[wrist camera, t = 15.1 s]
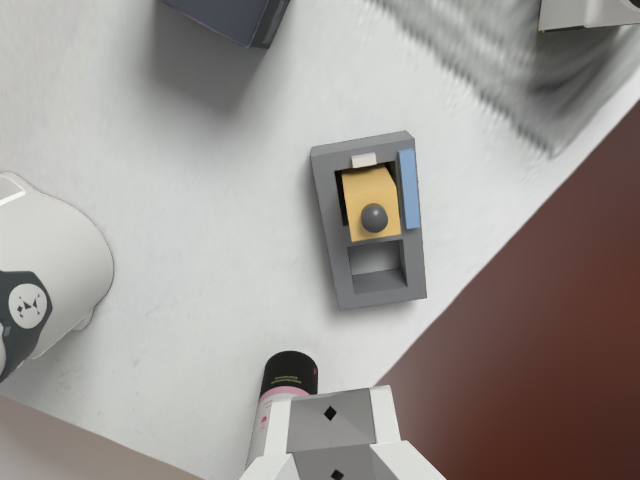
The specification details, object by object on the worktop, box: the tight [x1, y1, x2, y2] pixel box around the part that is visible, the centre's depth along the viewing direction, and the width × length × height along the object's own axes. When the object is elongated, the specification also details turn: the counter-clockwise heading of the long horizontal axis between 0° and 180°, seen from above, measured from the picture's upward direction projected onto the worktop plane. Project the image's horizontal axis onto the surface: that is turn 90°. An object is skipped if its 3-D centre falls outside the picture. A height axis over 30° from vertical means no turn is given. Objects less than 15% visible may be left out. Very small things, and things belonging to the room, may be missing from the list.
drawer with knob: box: [341, 163, 401, 242], centre depth 35 cm, size 4×4×10 cm
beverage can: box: [245, 351, 318, 471], centre depth 43 cm, size 6×6×15 cm
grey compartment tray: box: [310, 131, 427, 310], centre depth 39 cm, size 9×16×5 cm, turn 10°
